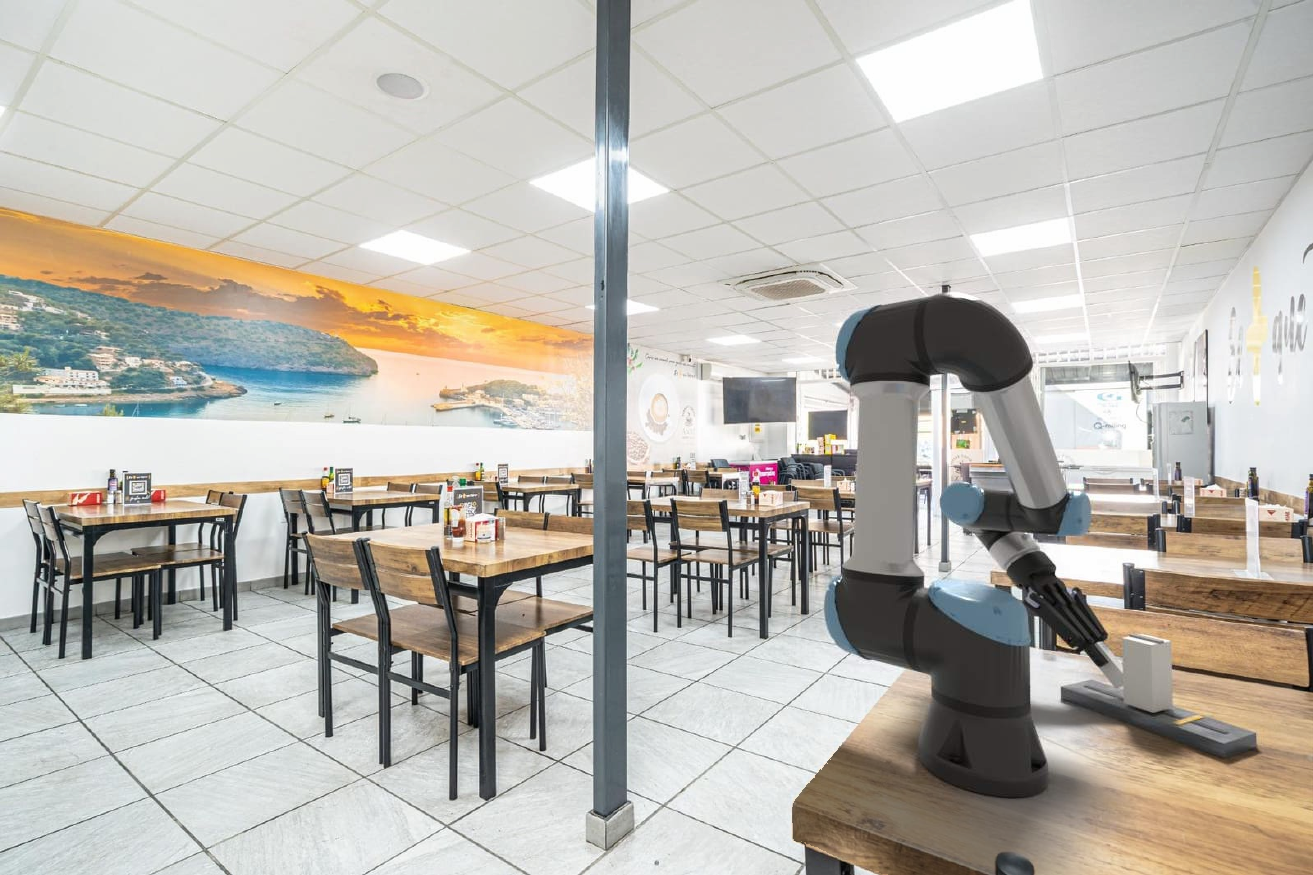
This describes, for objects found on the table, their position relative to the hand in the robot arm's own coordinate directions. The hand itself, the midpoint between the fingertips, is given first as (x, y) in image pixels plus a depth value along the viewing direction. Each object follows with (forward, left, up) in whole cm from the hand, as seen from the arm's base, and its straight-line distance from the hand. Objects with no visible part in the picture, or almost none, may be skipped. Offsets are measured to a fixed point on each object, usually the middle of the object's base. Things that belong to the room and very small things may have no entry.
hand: (1124, 683), depth 97 cm
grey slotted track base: (+2, -3, -4) cm, 6 cm away
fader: (+2, -3, -2) cm, 4 cm away
